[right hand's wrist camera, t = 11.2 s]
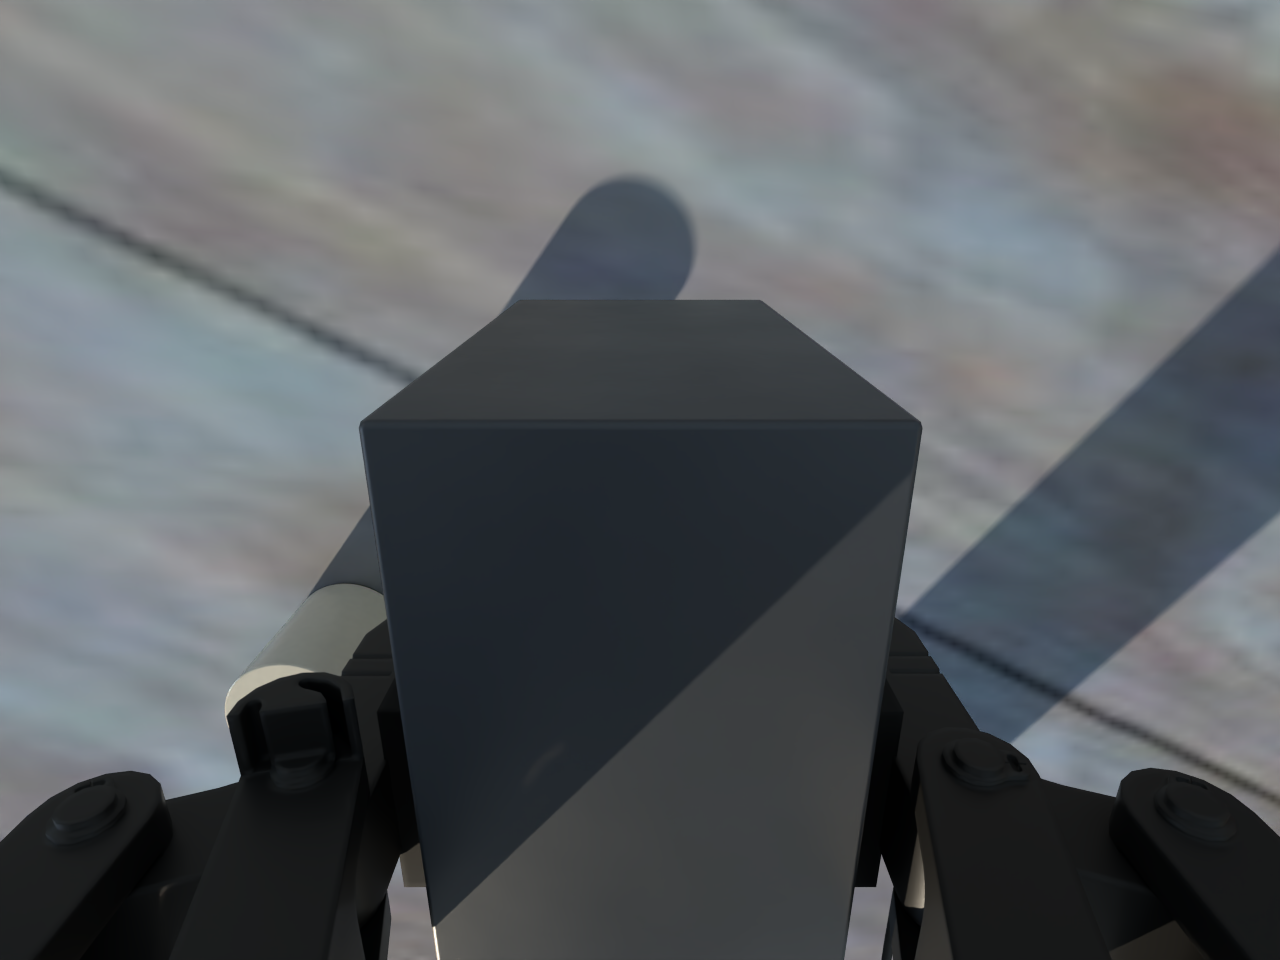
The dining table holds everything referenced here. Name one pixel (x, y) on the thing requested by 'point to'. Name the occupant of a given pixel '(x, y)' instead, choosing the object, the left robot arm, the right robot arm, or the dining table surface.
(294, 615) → the off-white cylinder
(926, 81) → the dining table surface
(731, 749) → the bar
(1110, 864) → the right robot arm
